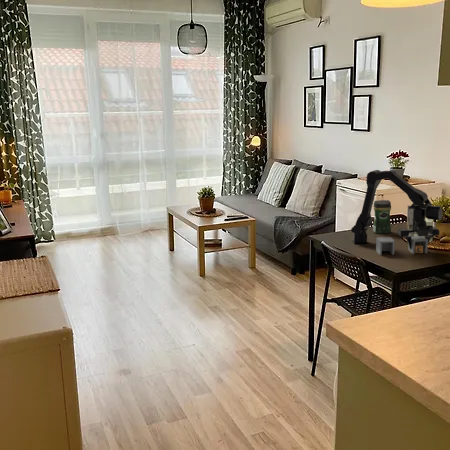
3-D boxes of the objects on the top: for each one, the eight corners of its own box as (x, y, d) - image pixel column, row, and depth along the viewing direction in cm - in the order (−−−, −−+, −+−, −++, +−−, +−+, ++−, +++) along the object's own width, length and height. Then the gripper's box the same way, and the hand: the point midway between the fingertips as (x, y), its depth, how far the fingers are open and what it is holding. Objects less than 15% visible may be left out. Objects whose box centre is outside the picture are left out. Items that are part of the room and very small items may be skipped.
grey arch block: (412, 253, 251) (413, 240, 249) (408, 249, 258) (408, 236, 256) (427, 253, 251) (427, 239, 249) (422, 249, 258) (422, 235, 256)
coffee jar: (388, 230, 296) (389, 198, 291) (392, 233, 288) (393, 201, 284) (371, 230, 297) (372, 199, 292) (374, 234, 289) (375, 202, 284)
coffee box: (421, 237, 278) (422, 208, 274) (408, 237, 279) (409, 208, 276) (418, 233, 287) (419, 205, 283) (406, 233, 288) (407, 205, 284)
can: (434, 243, 266) (435, 221, 263) (415, 243, 268) (416, 221, 265) (430, 238, 275) (431, 217, 272) (412, 238, 277) (413, 217, 274)
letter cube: (415, 253, 252) (415, 246, 251) (412, 251, 256) (413, 244, 255) (422, 253, 252) (423, 245, 251) (420, 250, 256) (420, 243, 255)
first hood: (379, 255, 251) (380, 241, 250) (376, 251, 258) (376, 237, 257) (394, 254, 251) (394, 240, 250) (390, 250, 258) (390, 237, 256)
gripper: (405, 222, 243) (403, 254, 246) (444, 220, 242) (443, 252, 246) (397, 217, 253) (396, 247, 257) (435, 215, 253) (434, 246, 257)
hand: (417, 248), depth 254 cm, fingers closed on grey arch block, 7 cm apart
